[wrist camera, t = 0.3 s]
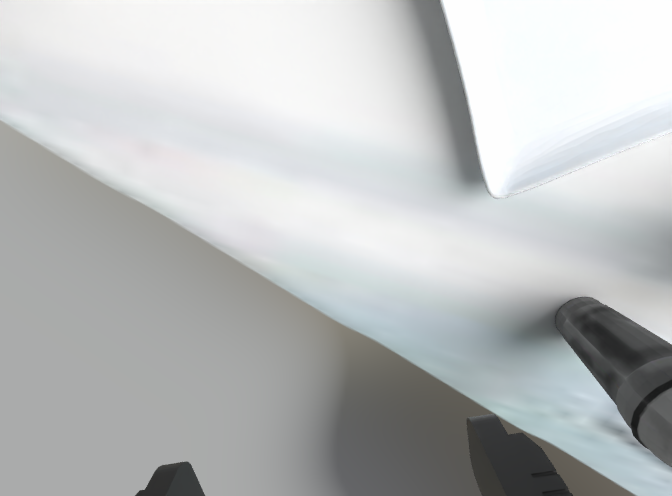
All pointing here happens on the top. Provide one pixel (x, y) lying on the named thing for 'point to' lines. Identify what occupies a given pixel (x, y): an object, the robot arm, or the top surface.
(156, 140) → the top surface
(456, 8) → the salad plate
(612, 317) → the beverage cup
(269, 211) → the top surface
